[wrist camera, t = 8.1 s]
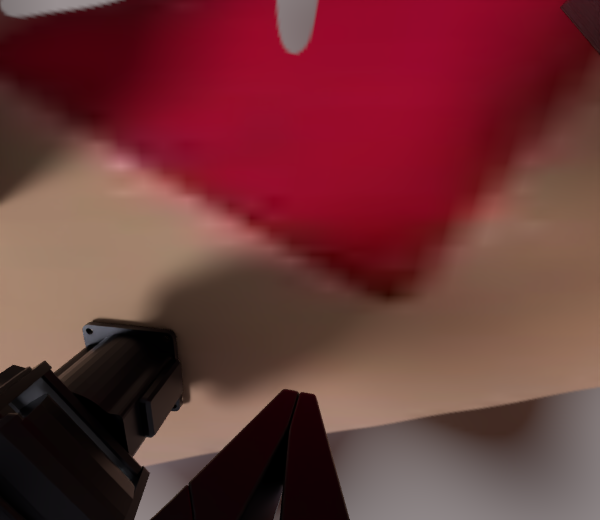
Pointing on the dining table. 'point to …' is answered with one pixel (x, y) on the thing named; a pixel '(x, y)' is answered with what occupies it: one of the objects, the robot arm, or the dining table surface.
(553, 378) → the dining table surface
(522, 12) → the dining table surface
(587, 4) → the housing
